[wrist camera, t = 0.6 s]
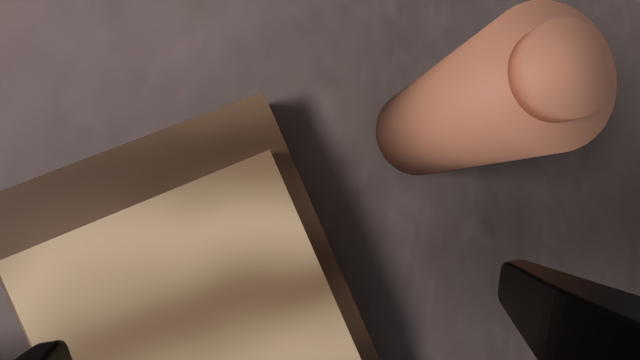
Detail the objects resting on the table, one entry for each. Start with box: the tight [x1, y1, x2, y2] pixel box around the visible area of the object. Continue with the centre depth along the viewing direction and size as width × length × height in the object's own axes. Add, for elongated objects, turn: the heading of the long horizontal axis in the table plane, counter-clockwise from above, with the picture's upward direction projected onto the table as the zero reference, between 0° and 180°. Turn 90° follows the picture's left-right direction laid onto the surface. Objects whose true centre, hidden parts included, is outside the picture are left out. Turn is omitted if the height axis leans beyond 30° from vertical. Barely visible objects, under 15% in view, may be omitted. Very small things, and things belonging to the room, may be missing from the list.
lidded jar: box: [376, 0, 617, 175], centre depth 17 cm, size 5×5×11 cm
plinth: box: [0, 92, 380, 360], centre depth 18 cm, size 18×14×4 cm
